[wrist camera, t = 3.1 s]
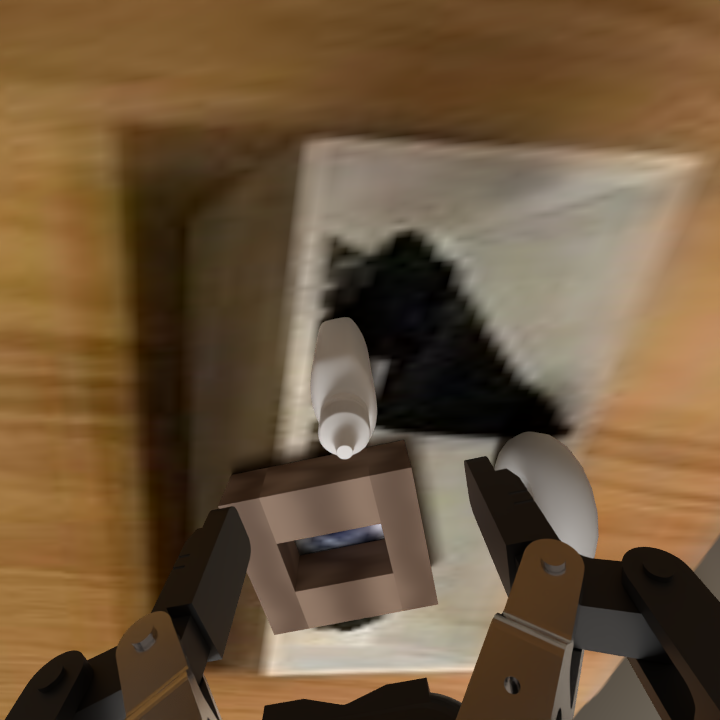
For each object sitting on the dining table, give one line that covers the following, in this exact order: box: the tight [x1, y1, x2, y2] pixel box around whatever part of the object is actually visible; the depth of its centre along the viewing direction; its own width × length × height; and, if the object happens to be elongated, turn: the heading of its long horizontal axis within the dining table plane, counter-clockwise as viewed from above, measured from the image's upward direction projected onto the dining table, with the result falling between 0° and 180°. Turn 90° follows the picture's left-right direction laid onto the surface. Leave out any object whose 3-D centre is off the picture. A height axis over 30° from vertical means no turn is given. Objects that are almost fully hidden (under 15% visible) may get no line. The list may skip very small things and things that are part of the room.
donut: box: [494, 432, 598, 558], centre depth 27 cm, size 10×4×10 cm, turn 177°
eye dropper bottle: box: [311, 317, 377, 459], centre depth 22 cm, size 4×6×12 cm
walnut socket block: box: [218, 440, 438, 635], centre depth 32 cm, size 14×14×4 cm
